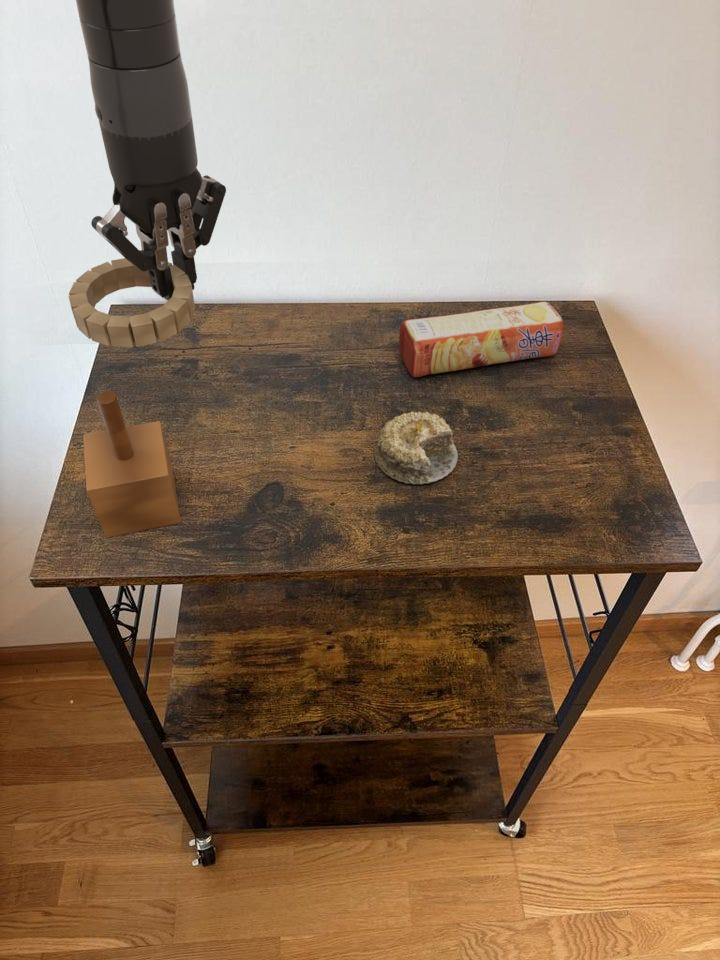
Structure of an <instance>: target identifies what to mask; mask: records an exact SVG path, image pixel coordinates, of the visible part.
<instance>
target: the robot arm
mask: <svg viewBox="0 0 720 960" xmlns="http://www.w3.org/2000/svg"><path fill="white" fill-rule="evenodd" d="M75 2H76V9H77V13H78V18H79V23H80V27H81V31H82V36H83V41H84V46H85V50H86V53H87V59H88V66H89V77H90V86H91V92H92V96H93V101H94V112H95V115H96V118H97V119H98V125H99V128H100V133H101V137H102V142H103V147H104V150H105V155H106V159H107V160H106V161H107V164H108V168H109V171H110V174H111V178H112V180H113V184H114V187H113V193H112V203H113V205H112V206H111V208H110V209H109V211H107V213H106V214H105V215H104V217H102V216H100V215H95V216H94V217H93V218H92V219H91V222H90V223H91V226H92V228H93V230H95V231H96V232H97V233H98V234H99V235H100V236H101V237H102V238H104V240H105V241H106V242H108V244H109V245H110V246H112V247H113V248H114V249H115V250H116V252H118V253H119V254H120V255H121V256H122V257H123V258H126V259H127V260H128V261H129V262H131V263H132V264H133V265H135V266H136V267H137V268H139V269H140V270H141V271H147V270H148V272H149V277H150V281H151V286H152V287H151V289H152V290H153V292H155V293H156V294H157V295H158V296H159V297H161V298H162V299H165V300H166V302H167V301H168V300H169V299H170V298H171V297H172V295H173V292H174V288H173V283H172V275H171V269H170V267H169V266H168V262H169V259H168V249H167V247H169V245H170V244H171V247H172V248H173V250H171V251H170V254H171V255H170V256H171V260H172V265H175V266H177V267H178V268H180V269H181V270H182V271H184V272H185V275H188V278H189V280H190V282H191V285H192V291H194V290H195V284H196V283H197V281H198V280H197V279H198V275H197V268H196V262H195V255H197V250H198V248H200V247H201V246H203V247H205V246H208V245H209V244H210V243H211V239H212V236H213V233H214V230H215V227H216V224H217V221H218V217H219V215H220V212H221V209H222V205H223V202H224V199H225V196H226V193H227V187H226V186H225V185H224V184H223V183H221V182H220V181H218V180H217V179H215V178H213V177H211V176H210V175H206V174H205V175H204V176H202V174H201V171H199V170H198V151H197V146H196V145H197V144H196V138H195V137H196V136H195V129H194V122H193V115H192V109H191V108H192V105H191V100H190V99H191V98H190V91H189V84H188V78H187V75H186V71H185V67H184V64H183V58H182V53H181V46H180V39H179V33H178V24H177V16H176V9H175V3H174V0H75ZM126 218H127V219H128V220H130V222H132V223H133V224H134V225H135V232H136V235H137V237H138V238H139V241H140V247H141V249H139V248H138V247H137V246H135V244H133V243H132V242H131V240H129V239H128V238H127V236H128V235H129V231H128V226H127V225H126V223H125V220H126ZM169 241H170V244H169Z"/></svg>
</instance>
